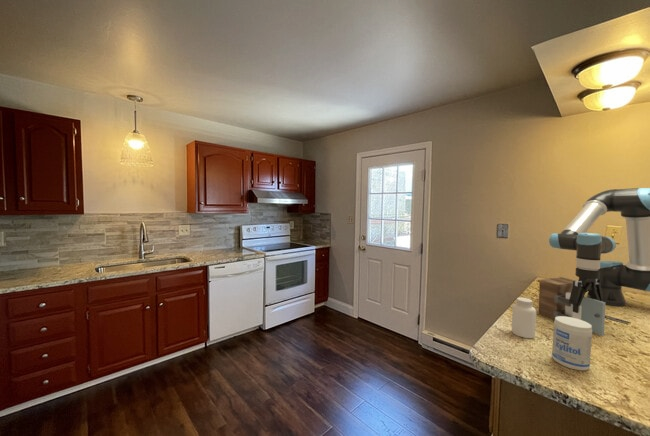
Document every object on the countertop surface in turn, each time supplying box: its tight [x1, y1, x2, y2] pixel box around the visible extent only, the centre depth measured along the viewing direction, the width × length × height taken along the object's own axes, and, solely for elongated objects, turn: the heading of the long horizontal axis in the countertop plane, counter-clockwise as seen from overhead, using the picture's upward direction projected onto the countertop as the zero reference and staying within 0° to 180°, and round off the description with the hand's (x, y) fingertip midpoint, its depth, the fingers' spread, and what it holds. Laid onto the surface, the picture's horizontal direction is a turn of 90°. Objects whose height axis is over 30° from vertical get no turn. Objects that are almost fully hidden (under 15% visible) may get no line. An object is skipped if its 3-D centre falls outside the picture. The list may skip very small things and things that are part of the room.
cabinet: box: [537, 276, 577, 321], centre depth 128 cm, size 18×14×17 cm
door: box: [565, 292, 606, 337], centre depth 116 cm, size 4×14×14 cm, turn 16°
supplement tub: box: [551, 316, 593, 371], centre depth 90 cm, size 10×10×15 cm
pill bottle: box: [511, 297, 537, 339], centre depth 111 cm, size 8×8×15 cm
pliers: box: [605, 314, 632, 325], centre depth 131 cm, size 10×1×20 cm
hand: (585, 318), depth 116 cm, fingers open, 10 cm apart
